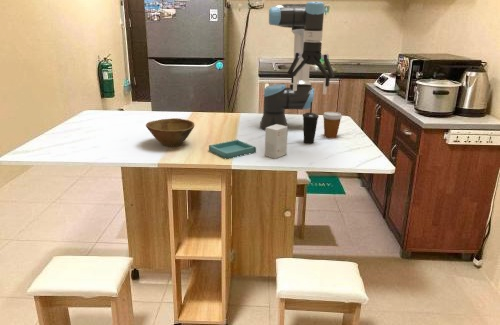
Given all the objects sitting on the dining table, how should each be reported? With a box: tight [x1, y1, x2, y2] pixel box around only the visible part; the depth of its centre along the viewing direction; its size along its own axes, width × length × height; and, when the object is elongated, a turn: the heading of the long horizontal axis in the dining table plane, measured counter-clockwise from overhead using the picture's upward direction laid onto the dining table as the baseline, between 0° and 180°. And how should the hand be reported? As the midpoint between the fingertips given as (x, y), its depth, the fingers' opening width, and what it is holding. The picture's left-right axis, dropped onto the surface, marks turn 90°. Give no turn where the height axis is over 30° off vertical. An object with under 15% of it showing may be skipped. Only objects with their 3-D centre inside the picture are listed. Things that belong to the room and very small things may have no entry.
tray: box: [208, 139, 257, 160], centre depth 183 cm, size 14×16×3 cm
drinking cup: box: [302, 102, 319, 145], centre depth 196 cm, size 8×8×20 cm
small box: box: [264, 124, 288, 160], centre depth 178 cm, size 8×6×13 cm
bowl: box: [145, 117, 195, 147], centre depth 192 cm, size 22×23×10 cm
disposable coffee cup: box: [322, 111, 343, 139], centre depth 208 cm, size 10×10×12 cm
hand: (309, 92), depth 176 cm, fingers open, 13 cm apart
